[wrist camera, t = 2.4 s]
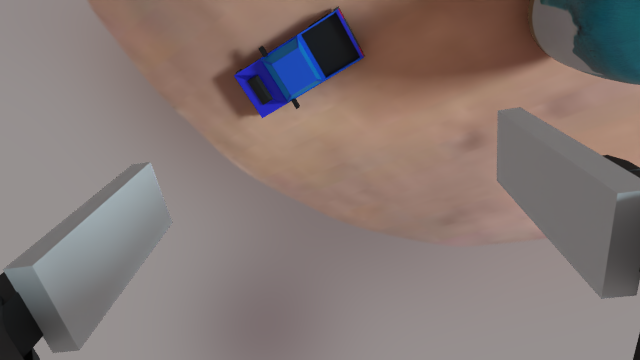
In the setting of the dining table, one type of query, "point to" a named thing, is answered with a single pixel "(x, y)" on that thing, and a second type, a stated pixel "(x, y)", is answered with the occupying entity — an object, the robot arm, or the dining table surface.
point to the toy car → (300, 63)
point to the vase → (590, 35)
